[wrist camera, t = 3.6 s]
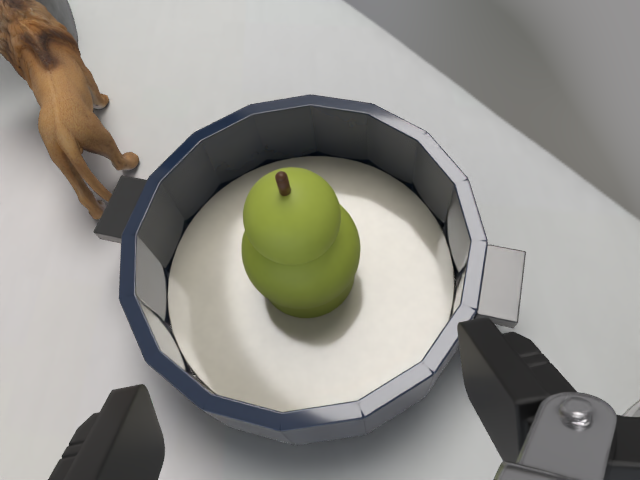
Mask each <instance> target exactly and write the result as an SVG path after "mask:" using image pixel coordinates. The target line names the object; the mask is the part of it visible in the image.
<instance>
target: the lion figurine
mask: <svg viewBox="0 0 640 480" xmlns="http://www.w3.org/2000/svg"><path fill="white" fill-rule="evenodd" d="M0 53H1V54H2V55H3V56H4V58H5V59H6V60H7V61H9V62H10V63H11V64H12V66H13V67H14V69H15V70H16V71H17V73H18V74H19V75H20V76H21V77H23V79H24V80H26V81H27V83H28V85H29V87H30V88H31V89H32V90H33V92H34V95H35V97H36V99H37V102H38V103H39V105H40V107H41V110H40V114H39V120H38V129H39V133H40V135H41V137H42V139H43V141H44V144H45V146H46V148H47V150H48V153H49V155H50V157H51V159H52V161H53V162H54V163H55V164H56V165H57V166H58V167H59V168H60V170H61V171H62V173H63V174H64V175H65V177H66V178H67V179H68V181H69V182H70V184H71V185H72V187H73V188H74V190H75V192H76V194H77V196H78V199H79V201H80V202H81V204H82V205H84V206H85V207H86V208H87V209H88V210H89V214H90V215H91V216H92V217H93V218H94V219H100V218H101V216H102V214H103V212H104V210H105V208H106V206H107V205H106V204H105V202H103V201H102V200H96V198H95V197H94V195H93V193H92V192H91V191H90V190H89V188H88V187H87V185H86V184H85V182H84V180H85V181H86V182H87V183H88V185H89V186H90V187H91V188H92V189H93V190H94V191H95V192H96V193H97V194H98V195H99V196H101V197H102V198H103V199H105V200H106V201H108V202H109V200H110V198H111V195H112V193H110V192H109V191H108V190H107V189H106V188H105V187H104V186H103V185H102V184H101V183H100V182H99V181H98V180H97V178H96V177H95V176H94V174H93V173H92V172H91V171H90V169H89V168H88V166H87V164H86V163H85V161H84V159H83V157H82V156H81V154H82V153H83V150H86V151H88V152H91V153H95V154H99V155H102V156H104V157H106V158H108V159H110V160H111V162H112V165H113V166H114V167H115V168H116V169H117V170H131V169H134V168H135V167H136V166H137V165H138V162H139V158H138V156H137V155H136V154H134V153H132V152H127V153H124V154H123V155H122V154H121V153H120V151H119V149H118V147H117V145H116V143H115V141H114V139H113V138H112V136H111V134H110V133H109V132H108V131H107V130H106V129H105V128H104V126H103V125H102V123H101V121H100V120H99V119H98V117H97V116H96V115H95V114H94V113H93V107H94V108H95V109H102V108H104V107H105V106H106V105H107V104H108V102H109V99H108V96H107V95H103V94H100V92H99V90H98V87H97V85H96V83H95V81H94V78H93V76H92V74H91V72H90V71H89V69H88V68H87V67H86V66H85V64H84V63H83V61H82V59H81V57H80V55H81V54H80V51H79V48H78V44H77V42H76V41H75V39H74V37H73V36H72V35H71V34H70V33H69V32H68V31H67V28H66V27H65V26H64V25H62V24H61V23H59V22H58V21H57V20H56V19H55V18H54V17H53V16H52V15H51V13H49V12H48V10H47V8H46V7H45V6H44V5H42V4H41V3H39V2H37V1H35V0H0ZM83 179H84V180H83Z"/></svg>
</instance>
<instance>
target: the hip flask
mask: <svg viewBox="0 0 640 480" xmlns="http://www.w3.org/2000/svg"><path fill="white" fill-rule="evenodd" d="M35 1H37V2H39V3H41V4H42V5H44V6H45V7H46V8H47V10H48V12H49V13H51V15H52V16H53V17H54V18H55V19H56V20H57V21H58V22H59V23H61V24H62V25H64V26H65V27H66V28H67V31H68V32H69V33H70V34H71V35H72V36H73V37H74V39H75V41H76V42H77V41H78V36H77V31H76V26H75V22H74V18H73V15H72V11H71V9H70V6H69V3H68V1H67V0H35Z"/></svg>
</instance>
